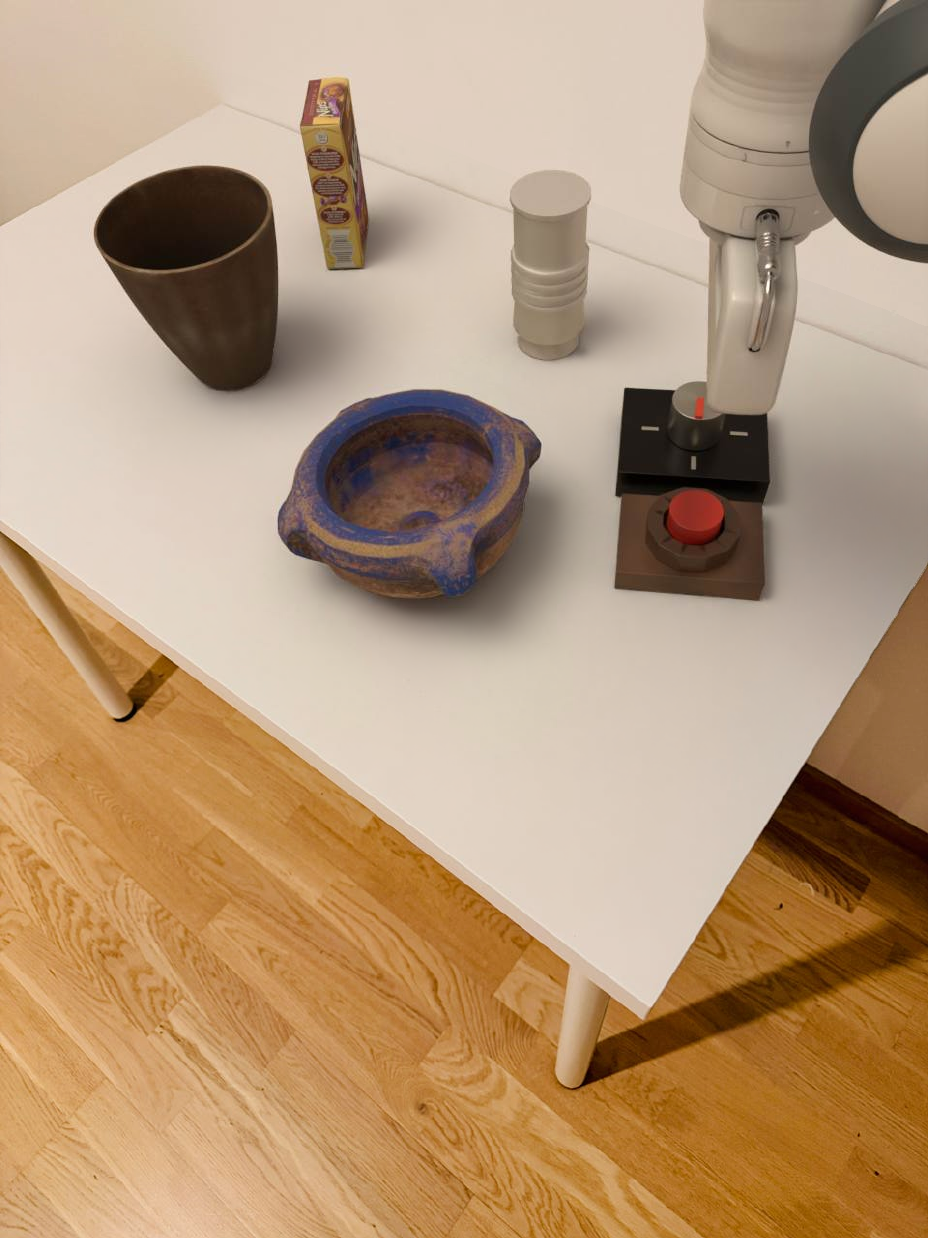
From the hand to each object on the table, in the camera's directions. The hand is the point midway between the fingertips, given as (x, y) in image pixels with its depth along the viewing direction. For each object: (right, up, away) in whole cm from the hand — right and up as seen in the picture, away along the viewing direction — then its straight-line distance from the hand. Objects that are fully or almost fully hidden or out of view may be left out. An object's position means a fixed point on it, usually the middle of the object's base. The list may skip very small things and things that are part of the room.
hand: (724, 367), depth 59 cm
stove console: (+2, -3, +18) cm, 18 cm away
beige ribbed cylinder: (-9, +10, +28) cm, 31 cm away
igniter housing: (+1, -11, +12) cm, 17 cm away
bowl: (-21, -10, +15) cm, 28 cm away
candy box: (-29, +24, +39) cm, 54 cm away
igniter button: (0, -9, +9) cm, 13 cm away
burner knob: (+2, -1, +16) cm, 16 cm away
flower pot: (-39, +8, +29) cm, 50 cm away
